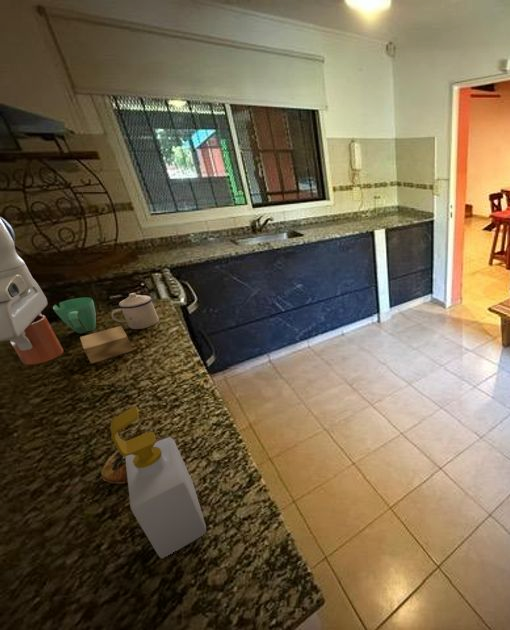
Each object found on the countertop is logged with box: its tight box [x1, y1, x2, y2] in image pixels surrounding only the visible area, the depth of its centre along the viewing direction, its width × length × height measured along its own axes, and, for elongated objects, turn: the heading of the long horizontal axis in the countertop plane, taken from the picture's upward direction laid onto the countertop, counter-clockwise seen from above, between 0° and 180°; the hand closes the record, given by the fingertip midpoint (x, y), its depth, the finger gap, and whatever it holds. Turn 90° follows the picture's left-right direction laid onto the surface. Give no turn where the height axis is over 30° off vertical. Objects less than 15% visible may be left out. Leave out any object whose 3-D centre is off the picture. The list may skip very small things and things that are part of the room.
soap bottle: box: [110, 405, 207, 560], centre depth 53 cm, size 12×7×23 cm, turn 41°
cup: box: [8, 314, 64, 366], centre depth 76 cm, size 7×7×9 cm
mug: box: [52, 297, 97, 334], centre depth 114 cm, size 15×10×10 cm
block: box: [79, 325, 134, 364], centre depth 105 cm, size 10×10×5 cm
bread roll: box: [100, 434, 164, 485], centre depth 68 cm, size 11×11×5 cm
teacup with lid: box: [110, 292, 160, 330], centre depth 118 cm, size 12×9×12 cm
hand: (34, 340), depth 76 cm, fingers closed on cup, 6 cm apart
